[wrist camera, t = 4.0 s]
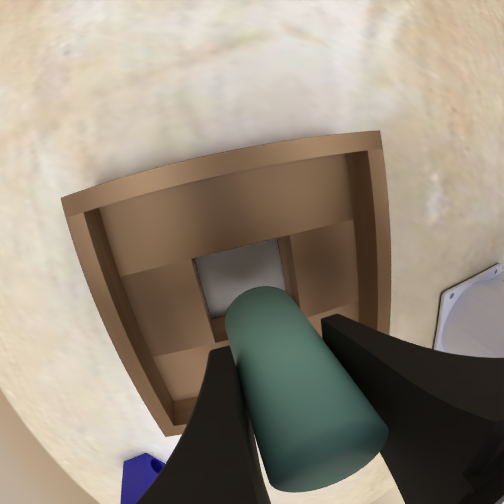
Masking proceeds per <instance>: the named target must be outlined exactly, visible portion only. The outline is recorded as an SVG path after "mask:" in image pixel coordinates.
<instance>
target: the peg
mask: <svg viewBox="0 0 504 504" xmlns="http://www.w3.org/2000/svg"><path fill="white" fill-rule="evenodd" d="M225 329H226V333H227V337H228V340H229V344H230V348H231V351H232V355H233V358H234V361H235V365H236V368H237V372H238V376H239V379H240V383H241V387H242V391H243V396H244V400H245V404H246V407H247V411H248V414H249V418H250V421H251V425H252V428H253V431H254V435H255V438H256V441H257V445H258V448H259V451H260V455H261V458H262V461H263V464H264V467H265V471H266V474H267V477H268V480H269V483H270V484H271V486H272V487H274V488H275V489H277V490H280V491H284V492H306V491H312V490H316V489H320V488H323V487H327V486H329V485H332V484H335V483H337V482H339V481H341V480H343V479H345V478H347V477H349V476H351V475H352V474H354V473H356V472H357V471H359V470H360V469H361V468H363V467H364V466H365V465H367V464H368V463H369V462H370V461H371V460H372V459H373V458H374V457H375V456H376V455H377V454H378V453H379V452H380V450H381V449H382V448H383V446H384V444H385V443H386V440H387V437H388V427H387V425H386V424H385V423H384V421H383V420H382V419H381V417H380V416H379V415H378V413H377V412H376V410H375V409H374V408H373V406H372V405H371V404H370V402H369V401H368V400H367V398H366V397H365V396H364V394H363V393H362V392H361V390H360V389H359V388H358V386H357V385H356V383H355V382H354V381H353V379H352V378H351V377H350V375H349V374H348V373H347V371H346V370H345V369H344V367H343V366H342V365H341V363H340V362H339V361H338V359H337V358H336V357H335V355H334V354H333V353H332V351H331V350H330V348H329V347H328V346H327V344H326V343H325V342H324V340H323V339H322V338H321V336H320V335H319V334H318V332H317V331H316V330H315V328H314V327H313V326H312V324H311V323H310V322H309V320H308V319H307V318H306V316H305V315H304V314H303V312H302V311H301V310H300V308H299V307H298V306H297V304H296V303H295V302H294V300H293V299H292V298H291V296H290V295H289V294H287V293H286V292H285V291H283V290H281V289H279V288H275V287H270V286H263V287H256V288H253V289H250V290H248V291H246V292H244V293H242V294H241V295H239V296H238V297H237V298H236V299H235V300H234V301H233V302H232V304H231V305H230V307H229V308H228V310H227V313H226V317H225Z"/></svg>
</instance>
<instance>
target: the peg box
mask: <svg viewBox="0 0 504 504" xmlns="http://www.w3.org/2000/svg"><path fill="white" fill-rule="evenodd" d="M61 202H62V206H63V209H64V213H65V217H66V220H67V224H68V227H69V231H70V234H71V237H72V240H73V244H74V247H75V250H76V253H77V256H78V259H79V262H80V265H81V267H82V270H83V273H84V276H85V279H86V281H87V284H88V286H89V289H90V292H91V294H92V297H93V299H94V302H95V304H96V307H97V309H98V311H99V314H100V316H101V318H102V321H103V323H104V325H105V327H106V330H107V332H108V334H109V336H110V338H111V340H112V343H113V345H114V347H115V349H116V351H117V353H118V355H119V357H120V359H121V361H122V363H123V365H124V367H125V369H126V371H127V373H128V374H129V376H130V378H131V380H132V382H133V384H134V386H135V387H136V389H137V391H138V393H139V394H140V396H141V398H142V400H143V401H144V403H145V405H146V406H147V408H148V410H149V411H150V413H151V415H152V416H153V418H154V420H155V421H156V423H157V424H158V426H159V428H160V429H161V431H162V432H163V434H164V435H165V437H167V436H174V435H180V434H183V432H184V430H185V428H186V425H187V423H188V421H189V419H190V416H191V413H192V411H193V408H194V406H195V403H196V401H197V398H198V395H199V392H200V388H201V385H202V382H203V378H204V374H205V371H206V366H207V361H208V354H209V352H210V351H211V350H213V349H217V348H221V347H225V346H229V345H230V344H229V340H228V337H227V333H226V329H225V317H226V316H222V317H218V318H214V319H211V317H210V314H209V310H208V307H207V303H206V300H205V296H204V293H203V289H202V286H201V282H200V278H199V275H198V271H197V267H196V264H195V260H194V258H197V257H201V256H205V255H209V254H213V253H217V252H221V251H225V250H229V249H233V248H237V247H241V246H246V245H250V244H254V243H258V242H262V241H266V240H270V239H274V238H277V239H278V244H279V250H280V256H281V262H282V268H283V275H284V281H285V287H286V293H287V294H289V295H290V296H291V298H292V299H293V300H294V302H295V303H296V304H297V306H298V307H299V308H300V310H301V311H302V312H303V314H304V315H305V316H306V318H307V319H308V320H309V322H310V323H311V324H312V326H313V327H314V328H315V330H316V331H317V332H318V334H319V335H320V336H321V338H322V329H321V319H322V318H325V317H328V316H331V315H334V314H337V313H338V314H340V315H343V316H345V317H348V318H350V319H352V320H354V321H357V322H359V323H361V324H363V325H366V326H368V327H370V328H373V329H375V330H377V331H380V332H382V333H384V334H387V335H389V329H390V309H391V239H390V219H389V204H388V192H387V181H386V172H385V163H384V155H383V148H382V141H381V135H380V131H366V132H355V133H344V134H335V135H326V136H318V137H310V138H302V139H295V140H289V141H282V142H276V143H270V144H264V145H258V146H252V147H247V148H241V149H236V150H231V151H226V152H221V153H217V154H212V155H207V156H203V157H198V158H194V159H190V160H186V161H181V162H177V163H173V164H169V165H166V166H162V167H158V168H154V169H150V170H147V171H143V172H140V173H136V174H133V175H129V176H126V177H122V178H119V179H116V180H113V181H109V182H106V183H103V184H100V185H97V186H94V187H91V188H88V189H85V190H82V191H79V192H76V193H73V194H70V195H68V196H65V197H62V198H61Z"/></svg>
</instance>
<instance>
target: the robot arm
mask: <svg viewBox="0 0 504 504" xmlns="http://www.w3.org/2000/svg"><path fill="white" fill-rule="evenodd" d="M502 271H503V265H502V264H501V263H498V264H497V265H495V266H493V267H491V268H489V269H488V270H486V271H484V272H482V273H480V274H478V275H476V276H475V277H473V278H471V279H469V280H467V281H465V282H463V283H461V284H459V285H457V286H455V287H453V288H451V289H449V290H447V291H445V292H444V293H443V294H442V297H441V305H440V313H439V320H438V326H437V333H436V339H435V344H434V349H429V348H425V347H422V346H418V345H415V344H412V343H409V342H406V341H403V340H400V339H398V338H395V337H392V336H390V335H387V334H384V333H382V332H380V331H377V330H375V329H373V328H370V327H368V326H366V325H363V324H361V323H359V322H357V321H354V320H352V319H350V318H348V317H345V316H343V315H340V314H338V313H337V314H334V315H331V316H328V317H325V318H322V319H321V329H322V339H323V340H324V342H325V343H326V344H327V346H328V347H329V348H330V350H331V351H332V353H333V354H334V355H335V357H336V358H337V359H338V361H339V362H340V363H341V365H342V366H343V367H344V369H345V370H346V371H347V373H348V374H349V375H350V377H351V378H352V379H353V381H354V382H355V383H356V385H357V386H358V388H359V389H360V390H361V392H362V393H363V394H364V396H365V397H366V398H367V400H368V401H369V402H370V404H371V405H372V406H373V408H374V409H375V410H376V412H377V413H378V415H379V416H380V417H381V419H382V420H383V421H384V423H385V424H386V425H387V427H388V437H387V440H386V443H385V444H384V446H383V448H382V449H381V450H380V453H381V455H382V457H383V459H384V461H385V463H386V465H387V467H388V468H389V470H390V472H391V474H392V476H393V478H394V480H395V482H396V484H397V486H398V489H399V491H400V493H401V495H402V497H403V500H404V502H405V504H502V502H504V274H503V273H502ZM136 504H271V502H270V499H269V496H268V493H267V490H266V487H265V484H264V480H263V476H262V472H261V468H260V463H259V458H258V452H257V447H256V442H255V436H254V431H253V428H252V425H251V421H250V418H249V414H248V411H247V407H246V404H245V400H244V396H243V391H242V387H241V383H240V379H239V376H238V372H237V368H236V365H235V361H234V358H233V355H232V351H231V348H230V345H229V346H225V347H221V348H217V349H213V350H211V351H210V352H209V354H208V361H207V366H206V371H205V374H204V378H203V382H202V385H201V388H200V392H199V395H198V398H197V401H196V403H195V406H194V408H193V411H192V413H191V416H190V419H189V421H188V423H187V425H186V428H185V430H184V432H183V434H182V436H181V438H180V440H179V442H178V444H177V445H176V447H175V449H174V451H173V452H172V454H171V456H170V457H169V459H168V461H167V462H166V464H165V466H164V467H163V469H162V470H161V472H160V473H159V474H158V476H157V477H156V479H155V480H154V481H153V482H152V484H151V485H150V486H149V488H148V489H147V490H146V491H145V493H144V494H143V495H142V496H141V498H140V499H139V500H138V501H137V502H136Z"/></svg>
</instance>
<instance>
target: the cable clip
mask: <svg viewBox="0 0 504 504" xmlns="http://www.w3.org/2000/svg"><path fill="white" fill-rule="evenodd" d="M164 466H165V464H164V463H163V462H161V461H159V460H158V459H156V458H154V457H152V456H151V455H149V454H148V453H144V454H142V455H139V456H137V457H135V458H132V459H130V460H127V461H124V465H123V476H122V489H121V504H136V502H137V501H138V500H139V499H140V498H141V496H142V495H143V494H144V493H145V491H146V490H147V489H148V488H149V486H150V485H151V484H152V482H153V481H154V480H155V479H156V477H157V476H158V474H159V473H160V472H161V470H162V469H163V467H164Z"/></svg>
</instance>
